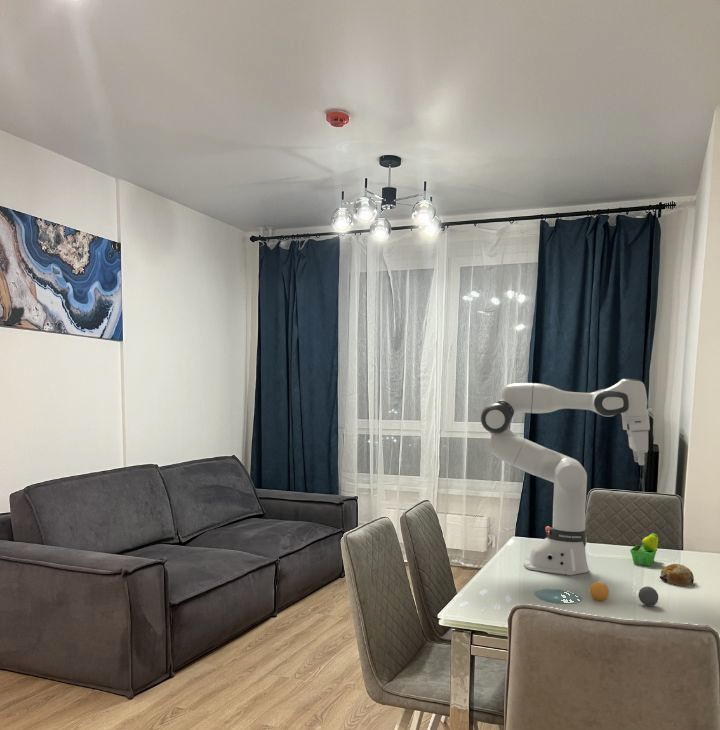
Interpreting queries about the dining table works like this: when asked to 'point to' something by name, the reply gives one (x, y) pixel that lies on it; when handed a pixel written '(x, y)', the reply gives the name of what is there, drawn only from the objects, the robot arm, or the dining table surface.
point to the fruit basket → (645, 550)
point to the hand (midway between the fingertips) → (639, 463)
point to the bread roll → (677, 575)
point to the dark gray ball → (648, 596)
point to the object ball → (599, 591)
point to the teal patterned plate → (556, 595)
